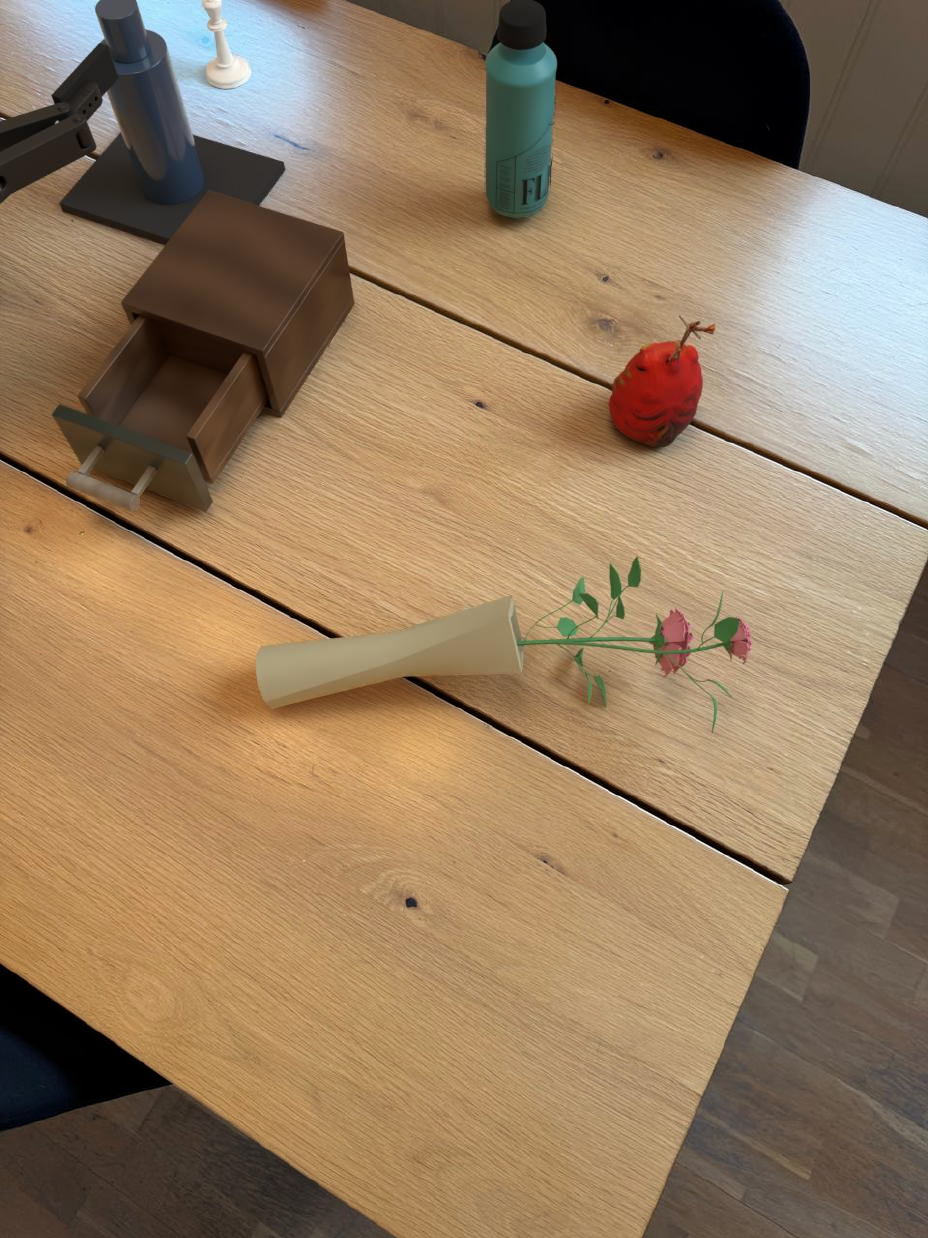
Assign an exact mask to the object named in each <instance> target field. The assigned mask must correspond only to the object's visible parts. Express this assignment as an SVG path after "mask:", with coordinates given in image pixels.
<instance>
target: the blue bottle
mask: <svg viewBox="0 0 928 1238" xmlns="http://www.w3.org/2000/svg"><path fill="white" fill-rule="evenodd" d="M94 12H95V15H96V18H97V21H98V24H99V26H100V30H101V32H102V36H103V39H102V40H101V41H100V42H99V43H102V44H105V45H108V48H109V51H110V54H111V57H112V60H113V62H114V65H115V68H116V71H117V74H118V77H119V78H118V79H117V81H116V82H115V83H114V84H113V85H112V86H111V87H110V89H109V90H108V91H107V92H106V94H107V98H108V101H109V103H110V106H111V108H112V111H113V115H114V117H115V119H116V123H117V125H118V128H119V131H120V132H121V134H122V137H123V139H124V142H125V145H126V148H127V150H128V153H129V156H130V159H131V162H132V164H133V167H134V170H135V173H136V175H137V178H138V181H139V184H140V187H141V189H142V192H143V194H144V195H145V196H146V197H147V198H148V199H149V200H151V201H153V202H155V203H158V204H163V205H174V204H179V203H183V202H186V201H188V200H190V199H192V198H193V197H195V196H196V195H197V194H198V193H199V192H200V191H201V189H202V188H203V186H204V183H205V176H204V173H203V169H202V166H201V162H200V159H199V155H198V152H197V148H196V145H195V141H194V138H193V135H194V134H193V131H192V127H191V124H190V121H189V118H188V114H187V110H186V108H185V103H184V100H183V96H182V94H181V90H180V87H179V83H178V80H177V76H176V73H175V70H174V69H175V68H174V65H173V63H172V59H171V56H170V55H171V54H170V52H169V48H168V46H167V42H166V40H165V39H164V37H162V35H160V34H159V33H157V32H156V31H154V30H150V29H146V27H145V24H144V20H143V17H142V14H141V11H140V7H139V4H138V1H137V0H99V1H97V3H96V4H95V6H94ZM192 134H193V135H192Z"/></svg>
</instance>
